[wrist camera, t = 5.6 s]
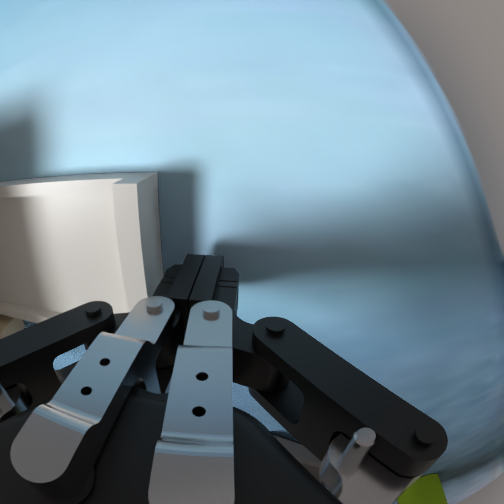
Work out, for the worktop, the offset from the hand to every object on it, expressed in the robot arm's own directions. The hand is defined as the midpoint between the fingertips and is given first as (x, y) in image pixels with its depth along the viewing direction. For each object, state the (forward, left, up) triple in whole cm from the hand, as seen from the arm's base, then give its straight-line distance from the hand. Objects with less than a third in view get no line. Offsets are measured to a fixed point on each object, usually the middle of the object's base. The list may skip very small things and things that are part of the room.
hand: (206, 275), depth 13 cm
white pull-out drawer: (+5, +8, -1) cm, 10 cm away
